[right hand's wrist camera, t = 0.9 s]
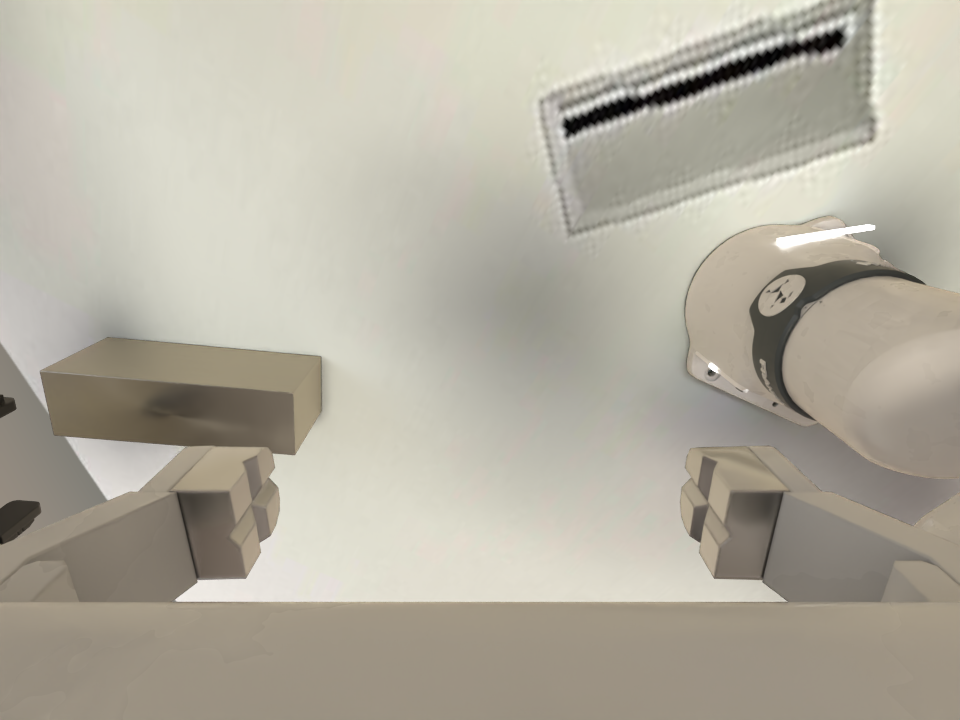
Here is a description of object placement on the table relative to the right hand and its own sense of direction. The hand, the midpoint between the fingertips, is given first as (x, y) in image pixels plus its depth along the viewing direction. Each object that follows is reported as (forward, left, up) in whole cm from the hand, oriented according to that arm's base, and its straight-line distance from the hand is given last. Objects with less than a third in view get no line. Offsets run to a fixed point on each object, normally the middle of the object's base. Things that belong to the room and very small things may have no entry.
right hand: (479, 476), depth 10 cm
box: (+13, +27, -40) cm, 50 cm away
